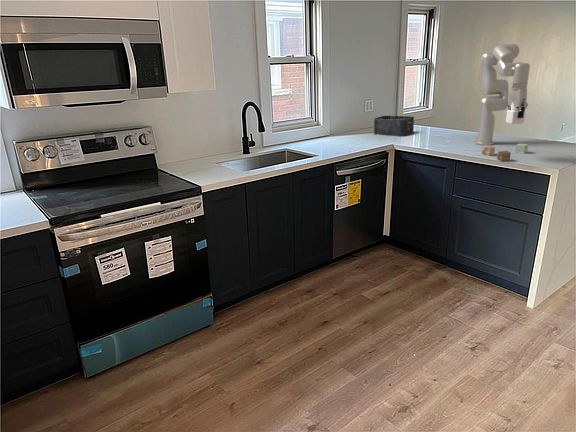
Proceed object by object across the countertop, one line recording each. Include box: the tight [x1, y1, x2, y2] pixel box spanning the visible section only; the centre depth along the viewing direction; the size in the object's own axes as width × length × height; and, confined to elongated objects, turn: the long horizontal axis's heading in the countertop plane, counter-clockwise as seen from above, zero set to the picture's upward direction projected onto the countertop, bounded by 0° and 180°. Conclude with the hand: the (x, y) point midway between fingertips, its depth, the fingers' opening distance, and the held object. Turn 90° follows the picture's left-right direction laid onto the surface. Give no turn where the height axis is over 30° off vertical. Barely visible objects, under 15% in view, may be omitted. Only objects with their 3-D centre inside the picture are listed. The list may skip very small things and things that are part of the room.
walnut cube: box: [496, 150, 511, 162], centre depth 247 cm, size 5×5×5 cm
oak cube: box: [481, 145, 496, 156], centre depth 262 cm, size 5×5×5 cm
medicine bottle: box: [505, 103, 526, 125], centre depth 246 cm, size 7×7×12 cm
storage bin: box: [373, 115, 415, 137], centre depth 347 cm, size 29×19×13 cm
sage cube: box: [515, 143, 529, 154], centre depth 263 cm, size 5×5×5 cm
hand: (515, 116), depth 247 cm, fingers closed on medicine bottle, 7 cm apart
